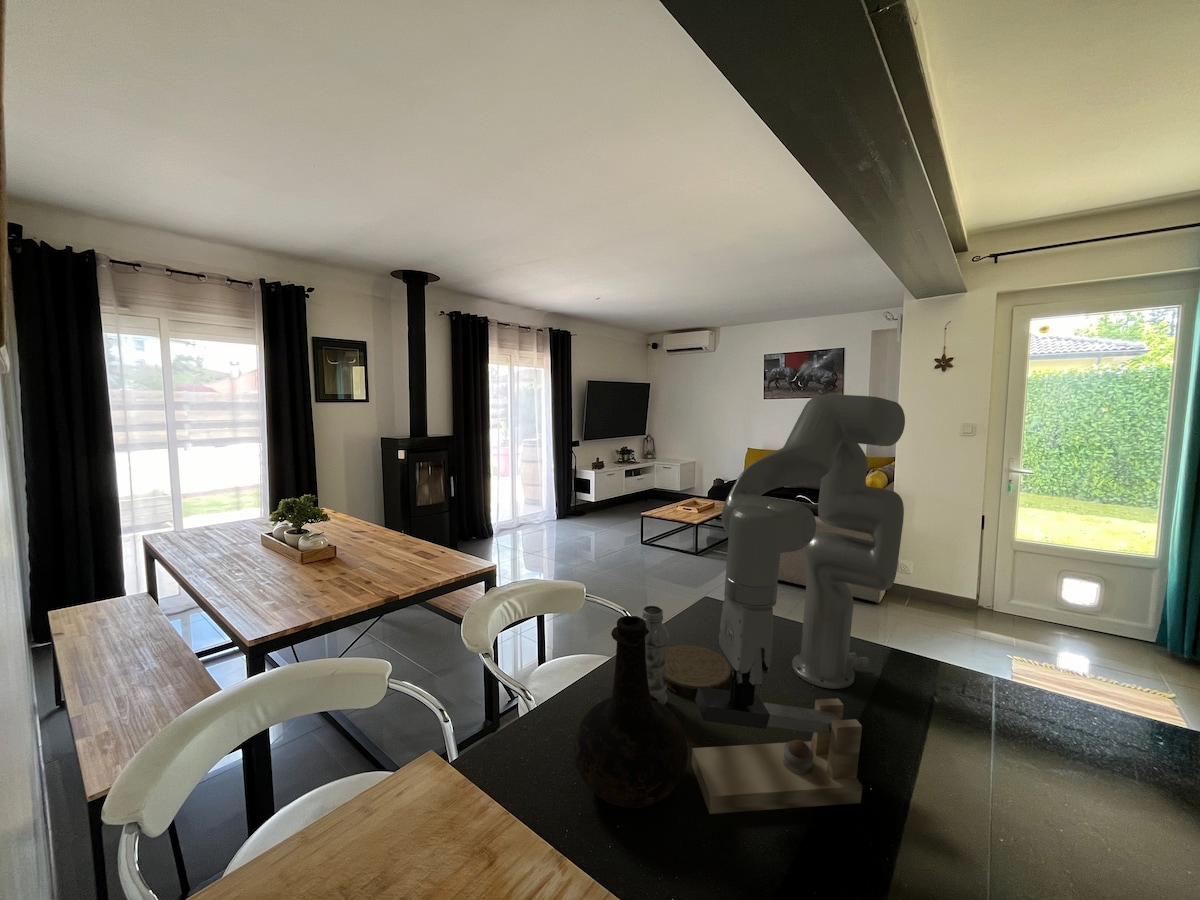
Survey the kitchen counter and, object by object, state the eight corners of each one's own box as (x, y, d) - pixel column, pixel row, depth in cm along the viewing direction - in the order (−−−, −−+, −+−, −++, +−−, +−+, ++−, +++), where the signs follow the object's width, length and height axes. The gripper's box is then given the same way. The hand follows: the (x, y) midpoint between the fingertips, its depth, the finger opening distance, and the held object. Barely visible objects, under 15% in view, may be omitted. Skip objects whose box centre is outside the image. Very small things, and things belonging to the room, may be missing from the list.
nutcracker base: (827, 755, 92) (833, 692, 90) (860, 803, 82) (868, 733, 80) (691, 764, 89) (694, 699, 87) (709, 813, 79) (713, 742, 77)
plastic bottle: (666, 717, 101) (669, 619, 97) (630, 712, 102) (633, 615, 99) (668, 697, 107) (672, 604, 104) (635, 692, 108) (637, 600, 105)
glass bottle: (697, 762, 90) (705, 607, 85) (666, 849, 74) (673, 664, 69) (601, 731, 97) (604, 587, 92) (554, 804, 81) (554, 634, 76)
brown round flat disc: (686, 709, 104) (686, 695, 103) (641, 668, 118) (641, 655, 117) (746, 686, 112) (746, 673, 111) (697, 650, 125) (697, 638, 125)
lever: (825, 723, 88) (831, 704, 87) (842, 744, 83) (848, 725, 82) (693, 705, 85) (698, 686, 84) (702, 726, 80) (707, 706, 79)
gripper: (711, 571, 86) (703, 675, 89) (744, 611, 72) (734, 735, 74) (755, 571, 87) (747, 675, 90) (797, 611, 72) (786, 734, 75)
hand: (741, 702), depth 82 cm, fingers closed
